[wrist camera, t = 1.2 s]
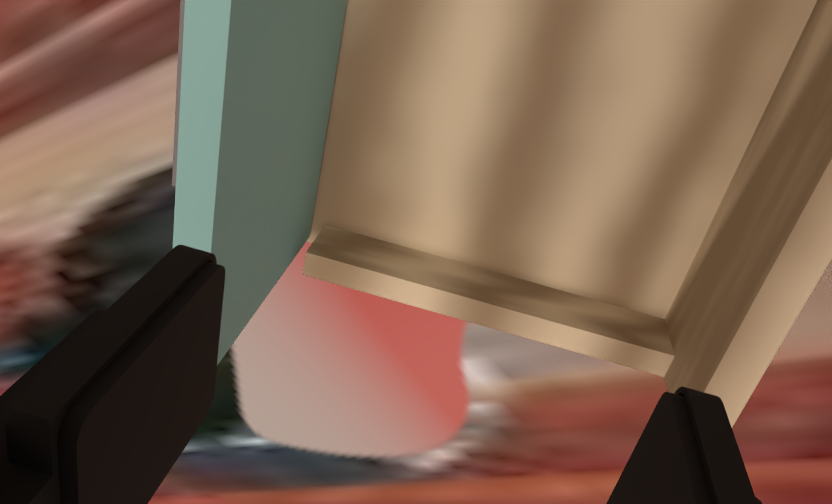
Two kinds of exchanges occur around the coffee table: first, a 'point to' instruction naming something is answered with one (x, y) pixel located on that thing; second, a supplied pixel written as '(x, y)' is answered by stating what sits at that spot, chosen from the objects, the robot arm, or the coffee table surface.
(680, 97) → the trailer bed
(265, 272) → the panel
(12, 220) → the coffee table surface
